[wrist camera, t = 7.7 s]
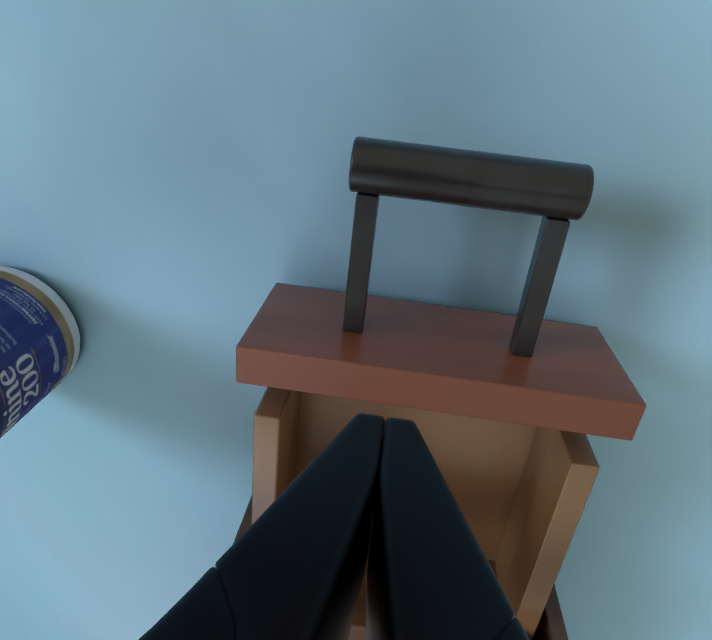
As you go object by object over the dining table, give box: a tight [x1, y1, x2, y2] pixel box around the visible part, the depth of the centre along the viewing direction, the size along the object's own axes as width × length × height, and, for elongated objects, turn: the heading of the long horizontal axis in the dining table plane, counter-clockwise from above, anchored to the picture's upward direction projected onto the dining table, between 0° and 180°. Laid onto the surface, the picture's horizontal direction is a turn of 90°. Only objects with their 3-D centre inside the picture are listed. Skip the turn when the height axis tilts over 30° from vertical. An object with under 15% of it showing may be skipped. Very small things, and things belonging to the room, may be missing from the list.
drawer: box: [236, 137, 646, 640], centre depth 18 cm, size 17×11×5 cm, turn 174°
